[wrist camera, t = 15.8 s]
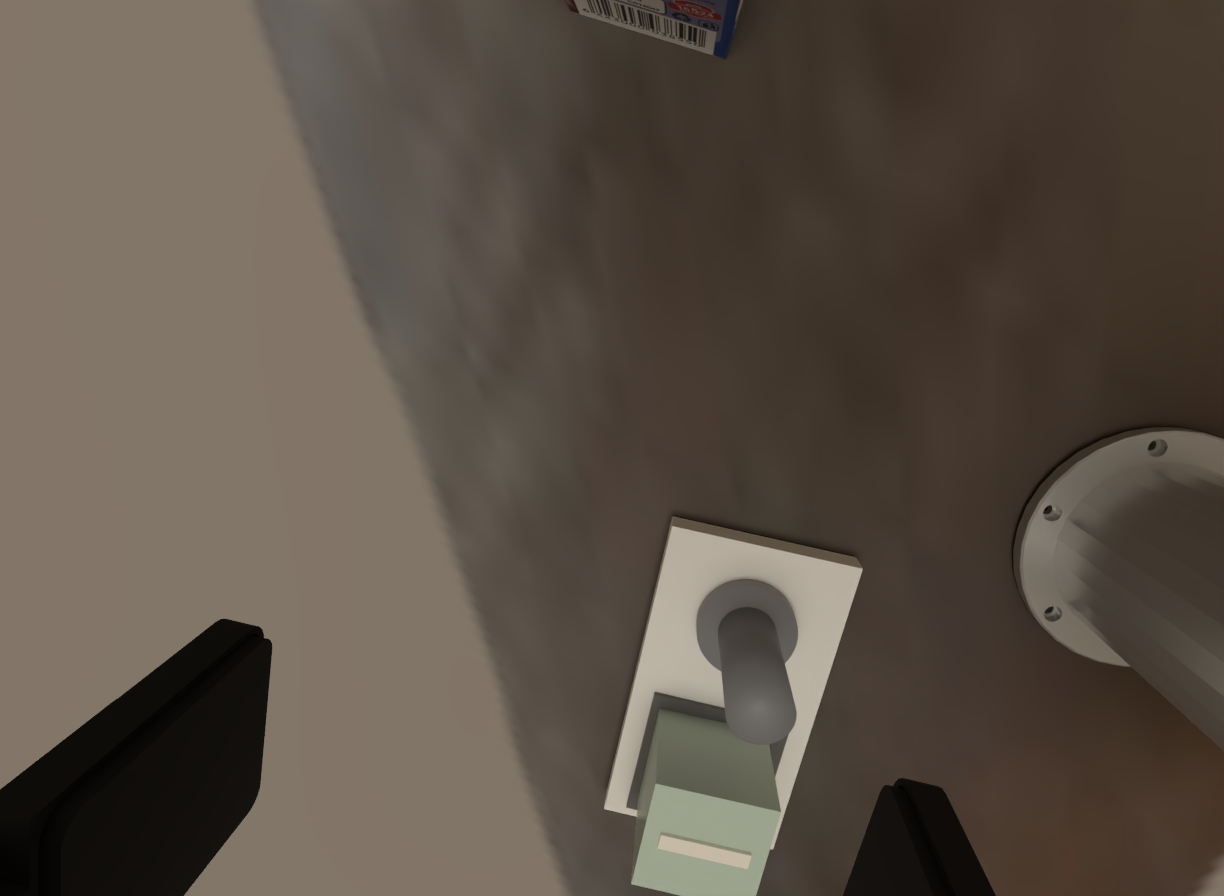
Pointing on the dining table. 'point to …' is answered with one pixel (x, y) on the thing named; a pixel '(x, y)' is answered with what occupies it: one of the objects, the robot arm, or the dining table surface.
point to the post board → (683, 652)
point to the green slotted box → (704, 810)
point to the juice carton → (671, 20)
